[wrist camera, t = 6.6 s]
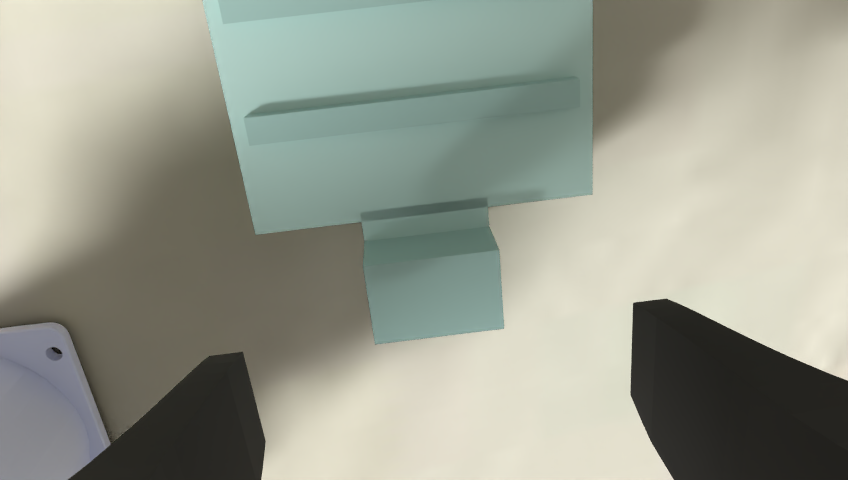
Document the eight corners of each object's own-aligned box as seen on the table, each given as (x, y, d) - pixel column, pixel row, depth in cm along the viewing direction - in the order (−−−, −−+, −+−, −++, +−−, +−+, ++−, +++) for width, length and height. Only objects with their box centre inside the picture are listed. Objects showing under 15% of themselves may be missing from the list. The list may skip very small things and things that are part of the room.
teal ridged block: (551, 227, 20) (610, 315, 15) (296, 258, 20) (266, 357, 15) (539, -264, 15) (621, -386, 10) (198, -228, 15) (102, -333, 10)
